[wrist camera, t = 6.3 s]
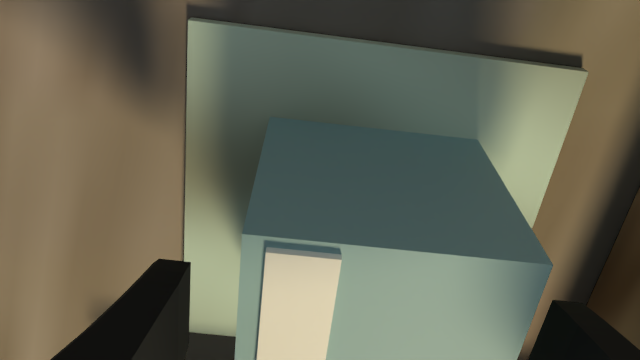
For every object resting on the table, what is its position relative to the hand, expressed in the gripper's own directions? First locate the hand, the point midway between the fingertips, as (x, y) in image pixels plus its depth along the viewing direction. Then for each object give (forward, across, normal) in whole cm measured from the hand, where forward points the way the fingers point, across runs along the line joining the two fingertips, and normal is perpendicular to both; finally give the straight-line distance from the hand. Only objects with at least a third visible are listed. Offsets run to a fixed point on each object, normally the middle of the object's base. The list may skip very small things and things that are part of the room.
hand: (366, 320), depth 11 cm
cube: (+4, 0, 0) cm, 4 cm away
